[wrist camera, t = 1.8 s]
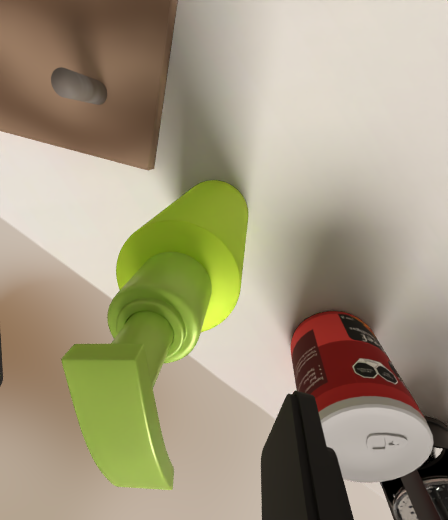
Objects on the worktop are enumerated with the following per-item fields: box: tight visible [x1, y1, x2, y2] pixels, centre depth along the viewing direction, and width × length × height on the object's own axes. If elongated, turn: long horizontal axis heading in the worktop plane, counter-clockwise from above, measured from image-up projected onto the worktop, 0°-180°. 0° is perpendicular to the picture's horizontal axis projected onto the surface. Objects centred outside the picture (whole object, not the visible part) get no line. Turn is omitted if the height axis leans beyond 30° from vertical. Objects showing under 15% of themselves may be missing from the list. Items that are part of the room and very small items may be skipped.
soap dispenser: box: [61, 180, 248, 490], centre depth 17 cm, size 6×7×20 cm
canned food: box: [291, 311, 433, 483], centre depth 24 cm, size 8×8×11 cm
